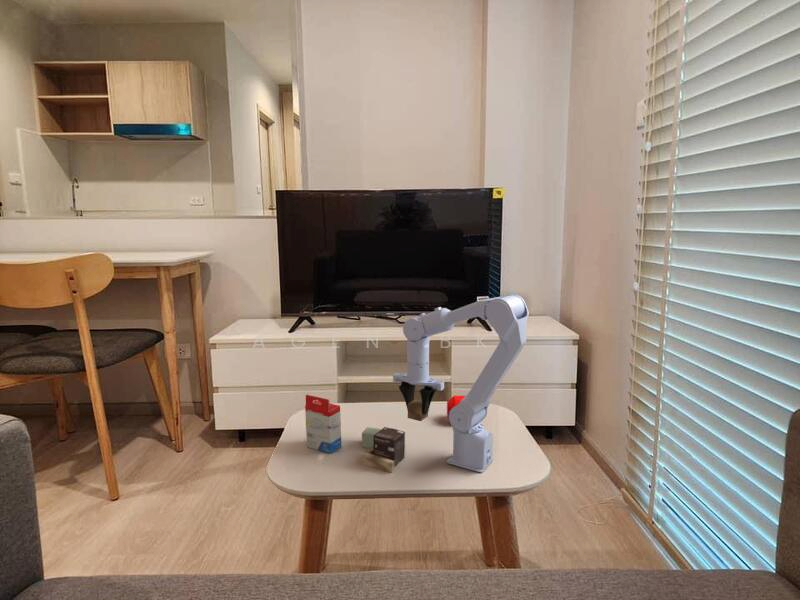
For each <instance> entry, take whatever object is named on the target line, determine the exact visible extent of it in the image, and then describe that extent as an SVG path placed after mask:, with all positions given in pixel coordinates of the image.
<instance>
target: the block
mask: <svg viewBox="0 0 800 600" xmlns="http://www.w3.org/2000/svg"><path fill="white" fill-rule="evenodd" d="M381 429H382V428H379V427H378V428H377V427H370V426H367V427H366V428H365V429H364V430H363V431H362V432H361V447H362V448H368V449H369V448H371V447H372V446H374V442H373V440H374V435H375V434H376V433H377V432H379V431H380V430H381Z"/></svg>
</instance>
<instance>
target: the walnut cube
mask: <svg viewBox="0 0 800 600" xmlns="http://www.w3.org/2000/svg"><path fill="white" fill-rule="evenodd" d="M428 417H429V412H428V413H427V414H425V415H424V414H423V413H422V399H416V398H414V400H413V401H411V402H410V403H408V410H407V419H410V420H414V421H419V422H422V421H423V420H425V419H427V418H428Z"/></svg>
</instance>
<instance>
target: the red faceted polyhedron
mask: <svg viewBox="0 0 800 600" xmlns="http://www.w3.org/2000/svg"><path fill="white" fill-rule="evenodd" d="M465 396H466V395H453V396H451V398H450V399H449V400H448V401H446V415H447V419H449V412H450V410H451V409H452V408H454V407H455V406H457V405H458V404H459V403H460V401H461V400H462V399H463V398H464V397H465Z"/></svg>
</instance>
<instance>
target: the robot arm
mask: <svg viewBox="0 0 800 600" xmlns="http://www.w3.org/2000/svg"><path fill="white" fill-rule="evenodd" d="M528 309H529V308H528V307H527V304H526V301H525V300H524V299H523V297H521V296H520V295H518V294H516V293H515V294H513V293H512V294H508V295H506V296H497V297H491V298H490V297H489V298H484V299H482V300H477V301H475V302H472V303H470V304H466V305H464V306H461V307H459V308H456V309H454V310H451V309H448V308H446V307H442V306H438V307H435V308H434V309H433V310H434V311H431V312H427V313H425V312H423V313H420V314H419V316H417V317H410V318H409V319H407V320H406V321H405V322H404V323H403V325H402V332H403V335H404V337H405V338H406V339H407V340H406V341H407V342H406V343H407V345H406V346H407V347H406V348H407V349H406V350H407V352H406V354H407V356H406V358H407V360H406V362H407V365H406V366H407V368H406V369H407V370H406V371H407V372H406V373H399V372H397V373H394V374H392V382H393V383H400V385H399V386H398V389H399V391H400V392H401V394H402V397H403V400H404V402H405V406H406V409H407V411H408V403H410V402H411V401H413V400H415V390H416V386H418V387H423V388H421V389H420V390H419V393H420V397H421V401H422V413H423V414H424V415H425V414H427V413H428V414H429V410H430V406H431V402H432V401H433V398H434V396H435V394H436V392H437V391H440V392H441V391H443V390H444V389H445V381H442V380H439V379H436V378H432V377H430V341H431V337H432V336H435V335H439V334H441V333H445V332H448V331H451V330H452V329H453V328H454V327H455V324H456V323H460V322H464V321H467V320H470V319H474V318H477V317H478V318H480V319H481V320H483V321H486V320H487V321H488V322H489V324H490V326H491V327H492V328H493V330H494V331H495V332H496V334H497V336H498V338H499V340H500V341H499V343H498V344H497V346H496V348H495V349H494V351H493V353H492V354H491V356H490V358H489V359H488V361H487V362H486V364H485V366H484V367H483V369H482V371H481V372H480V374H479V375H478V377H477V379H476V381H475V382H474V383H473V385H472V387H471V389H470V390H469V392H468V393H467V394H466V395H464V396H465V397H464V398H463V399H462V400H461V401H460V403H459V404H458V405H457V406H455V407H454V408H452V409H451V410H450V412H449V418H448V422H449V424H450V425H451V427H452V429H453V433H452V434H453V436H452V437H453V439H452V440H453V441H452V443H453V445H452V451H453V452H452V456H450V457H449V458H448V459H447V460H446V463H447V464H448V465H449V464H450V465H453V466H456V467H460V468H463V469H466V470H467V469H468V470H470V471H474V472H478V473H483V472H484V471H485V470H486V469H487V468H488V466H489V465H490V464H491V463H492V462H493V461H494V458H493V449H494V447H493V444H494V440H493V439H494V437H493V433H492V432H490V431H488V430H486V429H485V428H484V426H483V421H484V420H485V418H486V417H487V415H488V408H489V406H490V404H491V398H492V397H493V395H494V393H495V391H496V390H497V389H498V387H499V385H500V384H501V382H502V381H503V379H504V378H505V376H506V375H507V373H508V372H509V370H510V369H511V367H512V365H513V364H514V362H515V360H517V358H518V356H519V355H520V353H521V351H522V350H523V348H524V347H525V345H526V343H527V330H528V328H527V327H528V319H529V315H530V311H529V310H528Z"/></svg>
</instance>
